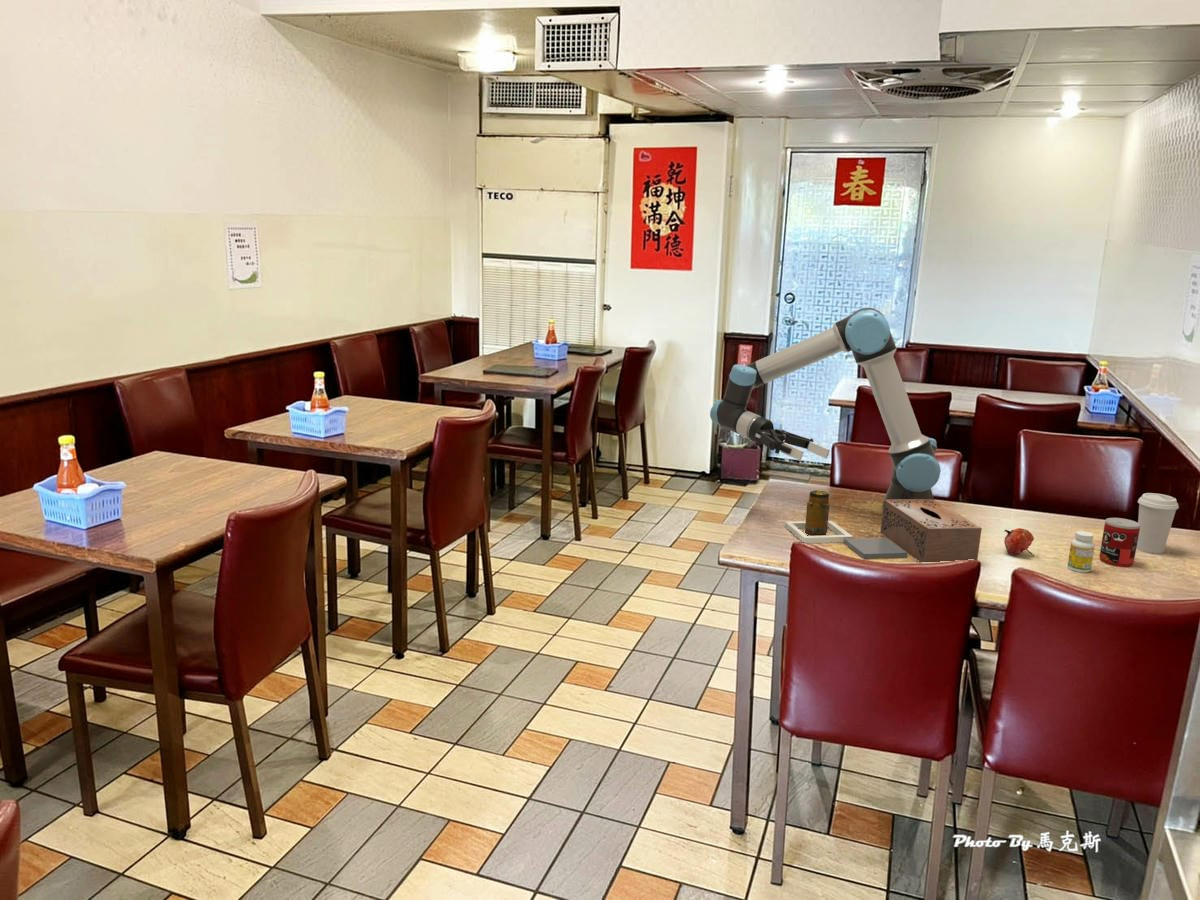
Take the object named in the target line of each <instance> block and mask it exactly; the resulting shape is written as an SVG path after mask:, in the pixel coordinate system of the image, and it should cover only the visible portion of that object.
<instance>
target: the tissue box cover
mask: <svg viewBox="0 0 1200 900" xmlns="http://www.w3.org/2000/svg"><path fill="white" fill-rule="evenodd" d="M933 499H934V498H933ZM933 499H889V500H884V499H883V500H884V504H883V503H882V514H881V523H880V530H879V531H880V534H881V535H883V537H885V538H887V539H888V540H890V541H891V542H893V543H894V544H896V545H897V546H899V547H900V548H901V549H903V550H904V551H906V552H907V555H909V556H911V557H912V558H913V559H915V558H916V559H917V560H916V559H915V560H916V561H918V560H919V561H918V562H919V563H920V562H940V561H955V560H968V559H974V560H977V561H978V559H979V553H980V552H979V551H980V545H981V544H980V542H981V538H982V537H981V536H982V531H983V530H982V527H981V526H979V525H977V524H976V523H973V522H972V521H971V520H969V519H967V518H966V517H964V516H962V515H961V514H959V513H957V512H955V511H953V510H951V509H950V508H948V507H947V506H945V505H943V504H942V503H940V502H938V501H937V500H935V499H934V500H933Z"/></svg>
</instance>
